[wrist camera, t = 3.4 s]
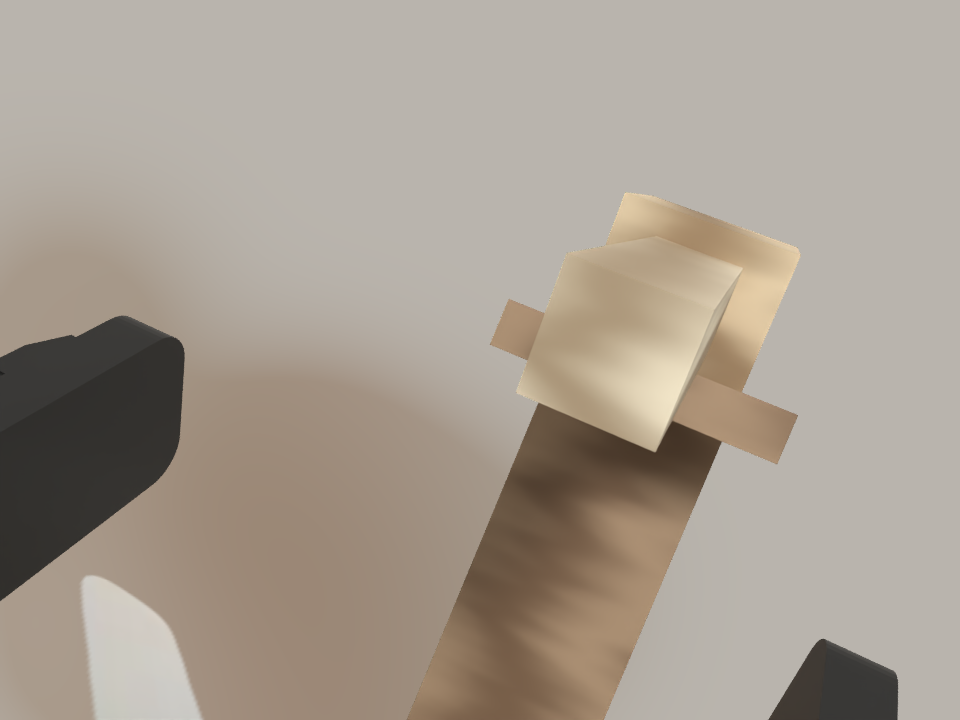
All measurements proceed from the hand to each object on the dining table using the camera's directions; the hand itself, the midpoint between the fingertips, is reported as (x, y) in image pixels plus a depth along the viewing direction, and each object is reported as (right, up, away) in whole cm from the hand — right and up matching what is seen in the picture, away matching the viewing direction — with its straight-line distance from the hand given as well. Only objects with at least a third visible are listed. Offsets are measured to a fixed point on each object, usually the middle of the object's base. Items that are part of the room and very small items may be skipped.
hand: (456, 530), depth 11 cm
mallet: (+5, +1, +17) cm, 18 cm away
